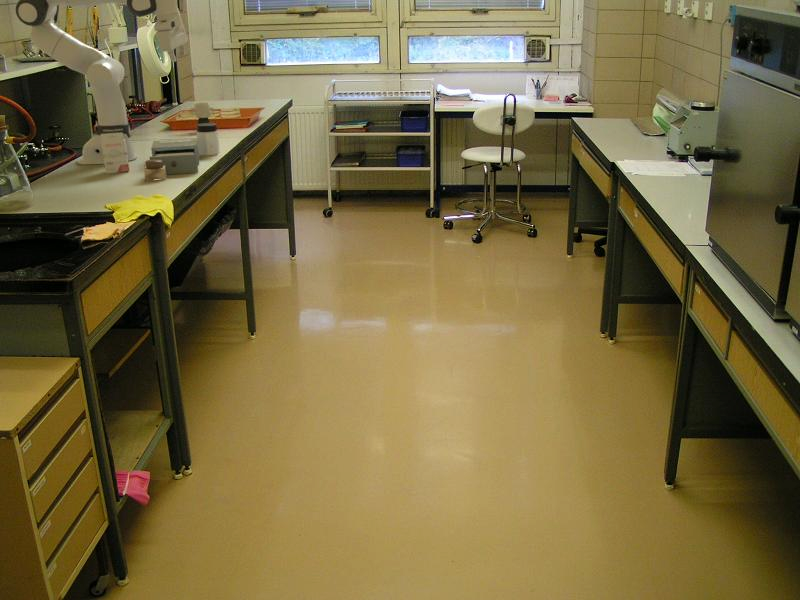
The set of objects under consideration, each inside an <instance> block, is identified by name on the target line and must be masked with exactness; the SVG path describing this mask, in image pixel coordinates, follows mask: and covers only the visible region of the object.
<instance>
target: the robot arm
mask: <svg viewBox="0 0 800 600" xmlns="http://www.w3.org/2000/svg"><path fill="white" fill-rule="evenodd" d="M104 4H105V5H106V4H117V5H122V6H126V7H127V9H128V11H129V12H130V13H131V14H132V15H134V16H135V17H141V18H143V17H147V16H150V15H152V14H154V15H155V16H156V21H155V24H154V25H153V27H154V31H155V32H156V36H157V40H158V44H159V48H160V49H161V51H162V52H164V53H165V52H167V55H168V56H169V58H170V62H171V63H175V62H177V60H178V59H177V56H176V55H175V49H177V48H178V51H179V53H178V54H179V57H180V58H184V57H186V52H185V51H186V50H185V49H186V47H185V44H187V43H188V41H189V37H188V35H187V30H186V27H185V25H184V24H183V20H182V17H181V12H180V9H179V8H178V0H18V2H17V3H16V5H15V15H16V16H17V19H19V21H20V22H21V23H22V24H24V25H26V26H30V27H31V30H30V33H29V39H30V41H31V43H32V44H33V45H34V46H35V47H36V48H37V49H39V50H40V51H41V52H43V53H44V54H45V55H47V56H48V57H51V58H52V59H54V60H55V61H56V62H58V63H60V64H62V65H63V66H65V67H67V68H69V69H70V70H72V71H75V72H77V73H80V74H82V75H83V76H86V79H87V82H88V83H89V87H90V90H91V94H92V96H93V100H94V104H95V110H96V115H97V123H98V124H95V125H94V126H93V132H94V133H93V134H94V135H93V136H92V137H91V138H90V139H89V140H88V141H87V142H86V143H85V144H84V145H83V146H82V155H81V156H80V157H79V158H78V159H77V164H79V165H104V159H103V152H102V146H101V136H100V135H101V134H107V133H121V132H122V133H123V137H124V139H125V144H126V150H127V157H128V162H129V161H133V160H135V159H137V155H136V153H135V150H134V147H133V143H132V140H131V136H132V135H131V134H132V132H131V126H130V124H129V121H128V115H127V108H126V107H127V106H126V102H125V99H124V96H123V95H122V90H121V87H120V84H121V83H122V82H123V80H124V79H125V72H126V71H125V68H124V65H123V64H122V63H121V62H120V61H119V60H117V59H115V58H112V57H111V56H109V55H107V54H106V53H103V52H102V51H100V50H97V49H96V48H93V47H92V46H89V45H88V44H86V43H84V42H82V41H80V40H79V39H77V38H76V37H74V36H72V35H71V34H69V33H68V32H66V31H64V30H62V29H61V28H59V27H58V26H57V25H56V23H57V22H58V15H59V10H60V6H64V7H65V6H66V7H69V8H78V9H79V8H83V9H85V8H92V7H96V6H100V5H104ZM108 138H116V136H109V137H108Z"/></svg>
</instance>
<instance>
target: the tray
mask: <svg viewBox="0 0 800 600" xmlns="http://www.w3.org/2000/svg"><path fill="white" fill-rule="evenodd" d="M153 159H161V160H163V165H165V167H166V175H174V174H187V173H188V174H189V173H191V174H192V173H199V165H197V155H196V154H194V152H186V153H170V154H156V156H153V157H152V156H149V160H153Z"/></svg>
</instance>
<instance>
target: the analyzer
mask: <svg viewBox="0 0 800 600" xmlns="http://www.w3.org/2000/svg"><path fill="white" fill-rule="evenodd" d="M150 149H151V150H150V151H151V157H153V156H156V154H170V153H186V152H194V154H196V155H197V165H198V166H199V165H200V155H199V148H198V139H197V138H185V139H184V138H183V139H180V138H179V139H168V140H167V139H165V140H153V141H152V144H151V147H150Z"/></svg>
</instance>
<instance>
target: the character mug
mask: <svg viewBox="0 0 800 600" xmlns="http://www.w3.org/2000/svg"><path fill="white" fill-rule="evenodd" d="M193 105H194V107H190V114H191V115H193V116H194V115H195V117H196V118H198V120H197V124H202V123H211V122H210V119H209V118H210V117H211V115H215V107H214V106H211V105H210V102H196V103H194V104H193ZM194 111H195V112H194Z"/></svg>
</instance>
